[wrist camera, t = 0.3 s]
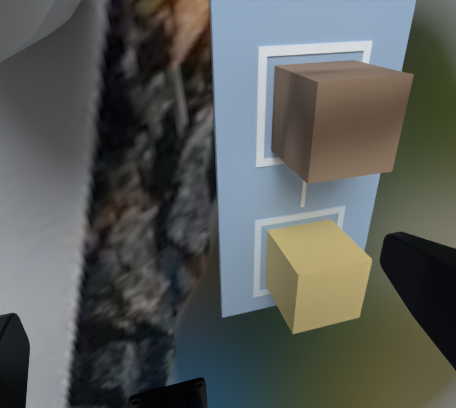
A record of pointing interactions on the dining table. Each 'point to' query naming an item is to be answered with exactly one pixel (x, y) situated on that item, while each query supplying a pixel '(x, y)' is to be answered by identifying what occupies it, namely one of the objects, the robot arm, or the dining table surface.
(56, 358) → the dining table surface
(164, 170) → the dining table surface
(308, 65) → the walnut cube
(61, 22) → the can
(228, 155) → the blueprint sheet
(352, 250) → the ochre block
